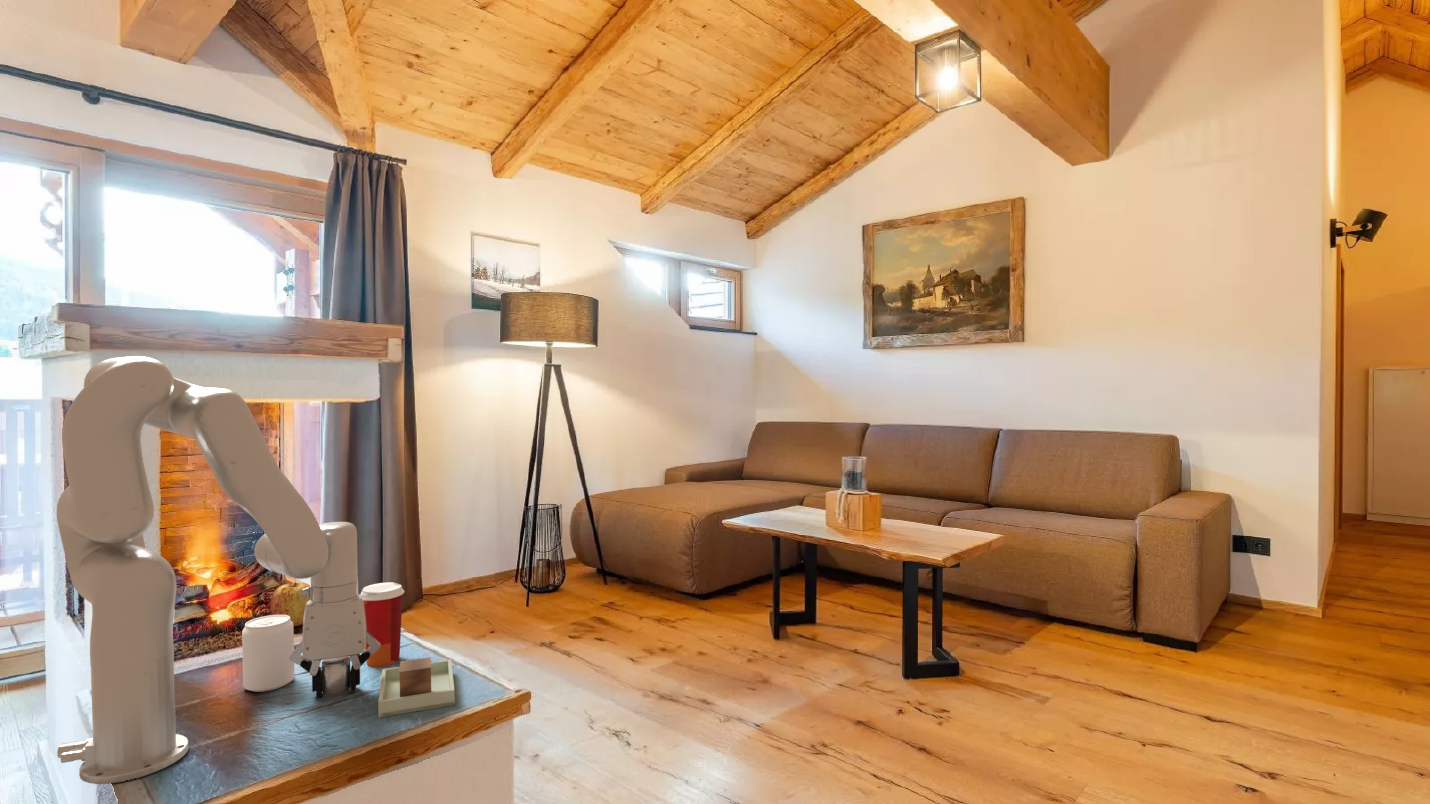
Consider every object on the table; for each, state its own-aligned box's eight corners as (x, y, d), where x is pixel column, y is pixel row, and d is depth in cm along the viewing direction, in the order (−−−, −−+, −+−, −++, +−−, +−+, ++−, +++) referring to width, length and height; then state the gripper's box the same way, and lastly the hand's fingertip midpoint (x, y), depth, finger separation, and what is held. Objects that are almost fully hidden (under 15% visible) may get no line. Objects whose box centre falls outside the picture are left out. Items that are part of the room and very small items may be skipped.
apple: (295, 617, 172) (294, 575, 172) (325, 620, 170) (325, 578, 169) (261, 629, 163) (260, 586, 163) (294, 633, 161) (293, 589, 160)
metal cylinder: (321, 700, 127) (320, 666, 127) (324, 690, 131) (323, 657, 131) (349, 695, 128) (348, 662, 128) (351, 686, 133) (351, 654, 132)
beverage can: (303, 680, 135) (302, 617, 135) (259, 697, 128) (258, 630, 128) (278, 672, 139) (277, 611, 139) (234, 688, 132) (232, 623, 131)
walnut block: (400, 706, 123) (399, 672, 123) (400, 694, 127) (400, 661, 127) (431, 701, 125) (430, 667, 124) (431, 690, 129) (430, 657, 129)
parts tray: (378, 717, 120) (378, 702, 120) (382, 682, 134) (382, 669, 134) (454, 704, 125) (454, 690, 125) (451, 672, 138) (451, 659, 138)
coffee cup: (393, 650, 150) (392, 579, 150) (413, 659, 145) (411, 586, 145) (352, 662, 144) (350, 588, 143) (371, 673, 139) (370, 596, 138)
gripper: (276, 603, 122) (278, 708, 123) (385, 591, 129) (387, 692, 129) (283, 591, 129) (286, 691, 130) (387, 581, 136) (389, 676, 136)
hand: (336, 690), depth 130 cm, fingers open, 4 cm apart
